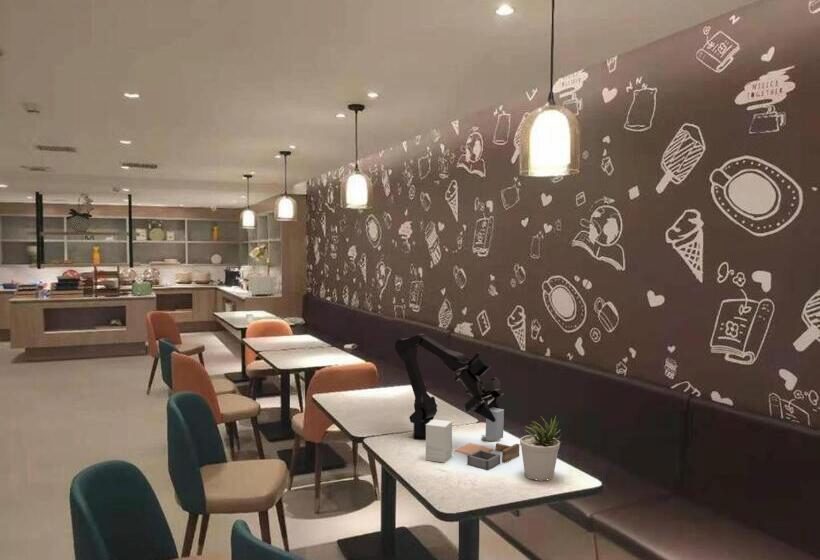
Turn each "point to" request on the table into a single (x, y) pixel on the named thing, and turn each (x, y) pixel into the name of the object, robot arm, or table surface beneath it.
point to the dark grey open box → (483, 459)
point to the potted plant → (540, 452)
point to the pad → (472, 449)
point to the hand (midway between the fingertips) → (498, 419)
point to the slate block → (495, 424)
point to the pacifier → (486, 438)
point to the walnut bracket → (508, 451)
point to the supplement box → (439, 440)
